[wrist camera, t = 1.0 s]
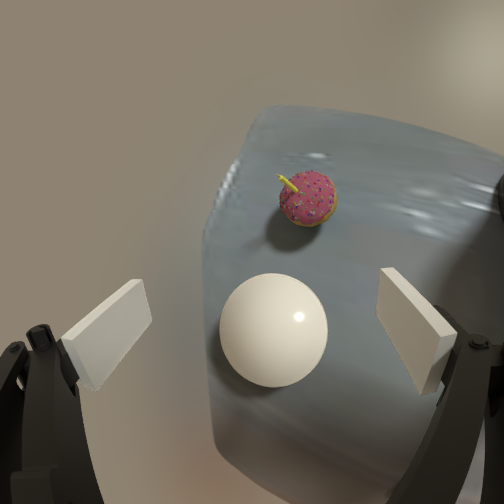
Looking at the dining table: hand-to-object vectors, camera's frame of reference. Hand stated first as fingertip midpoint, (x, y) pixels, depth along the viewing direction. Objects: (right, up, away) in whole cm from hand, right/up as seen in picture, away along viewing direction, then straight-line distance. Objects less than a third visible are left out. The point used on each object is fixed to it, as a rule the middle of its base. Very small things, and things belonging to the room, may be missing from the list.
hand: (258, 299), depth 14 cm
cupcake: (+10, +9, +29) cm, 32 cm away
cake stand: (+5, -9, +27) cm, 29 cm away
